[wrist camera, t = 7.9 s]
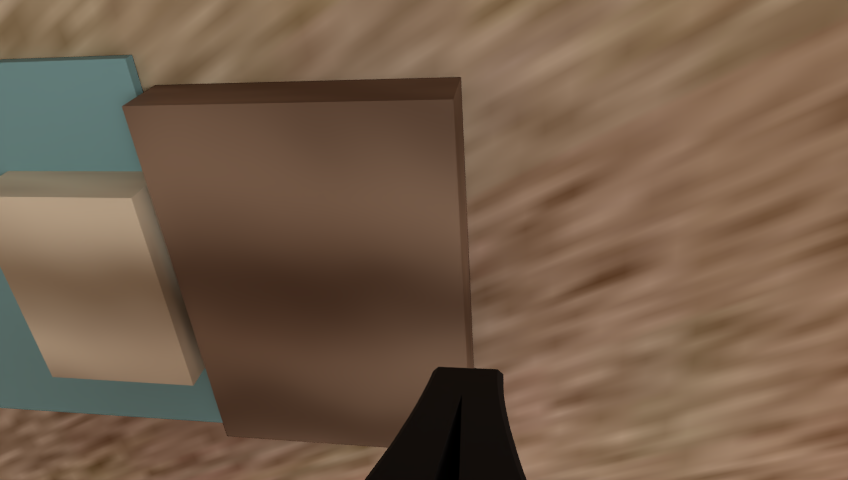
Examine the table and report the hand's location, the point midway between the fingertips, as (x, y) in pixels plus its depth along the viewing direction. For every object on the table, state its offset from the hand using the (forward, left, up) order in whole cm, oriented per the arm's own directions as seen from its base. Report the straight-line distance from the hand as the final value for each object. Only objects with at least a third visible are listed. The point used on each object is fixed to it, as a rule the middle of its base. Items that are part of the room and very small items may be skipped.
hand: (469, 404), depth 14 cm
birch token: (-3, +14, -9) cm, 17 cm away
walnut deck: (-3, +6, -9) cm, 12 cm away
